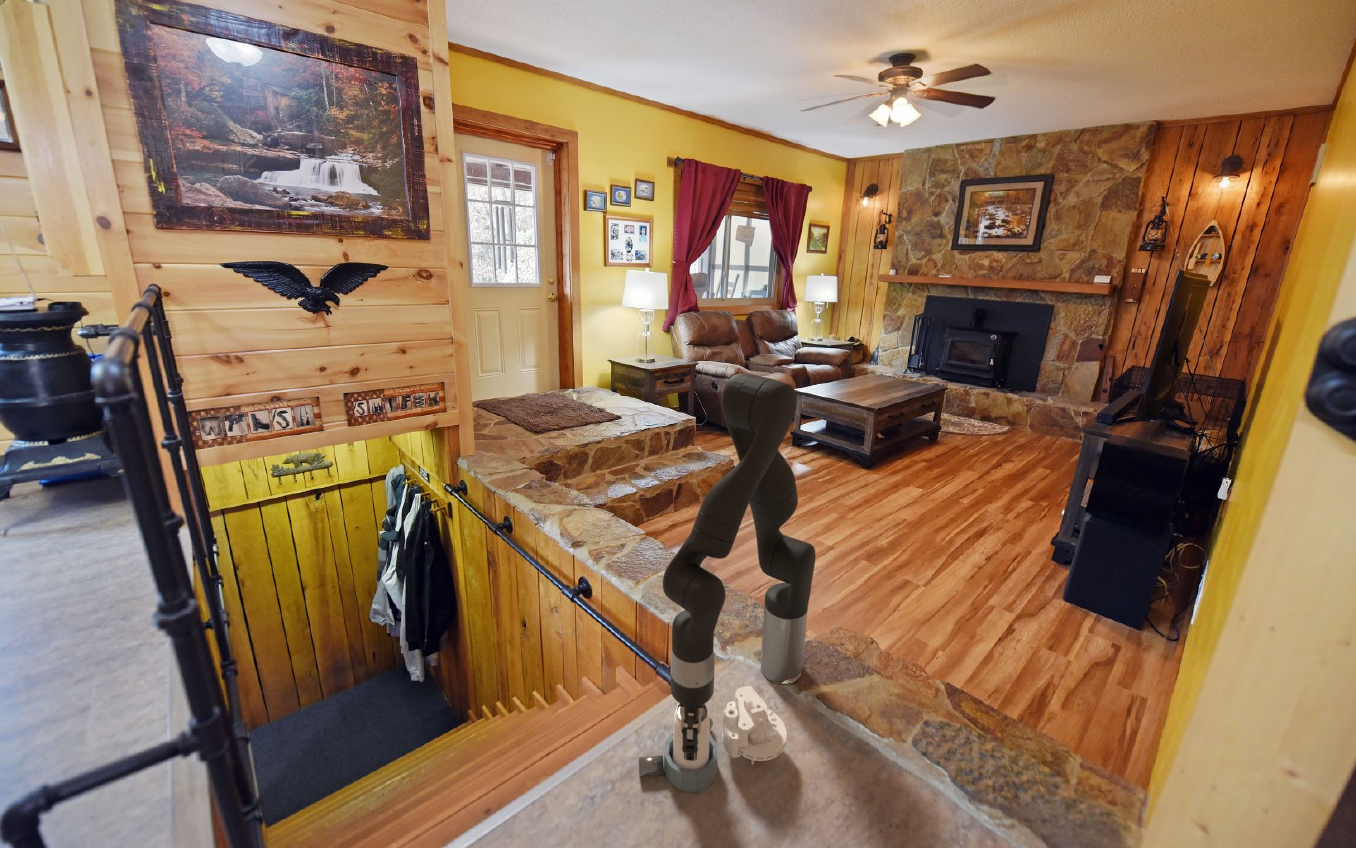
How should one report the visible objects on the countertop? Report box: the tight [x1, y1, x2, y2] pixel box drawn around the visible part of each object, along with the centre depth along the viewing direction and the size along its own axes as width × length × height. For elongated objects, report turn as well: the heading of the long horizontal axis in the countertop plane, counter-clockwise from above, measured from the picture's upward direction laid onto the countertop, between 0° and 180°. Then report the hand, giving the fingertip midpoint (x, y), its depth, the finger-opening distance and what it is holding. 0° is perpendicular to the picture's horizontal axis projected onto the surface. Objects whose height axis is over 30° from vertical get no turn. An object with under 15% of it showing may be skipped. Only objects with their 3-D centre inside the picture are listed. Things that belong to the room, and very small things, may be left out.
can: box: [672, 702, 711, 771], centre depth 99 cm, size 6×6×12 cm
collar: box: [663, 732, 718, 794], centre depth 102 cm, size 10×10×4 cm
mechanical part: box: [721, 685, 788, 766], centre depth 104 cm, size 11×12×12 cm
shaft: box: [638, 754, 665, 777], centre depth 101 cm, size 4×3×3 cm
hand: (691, 743), depth 100 cm, fingers closed on can, 5 cm apart
